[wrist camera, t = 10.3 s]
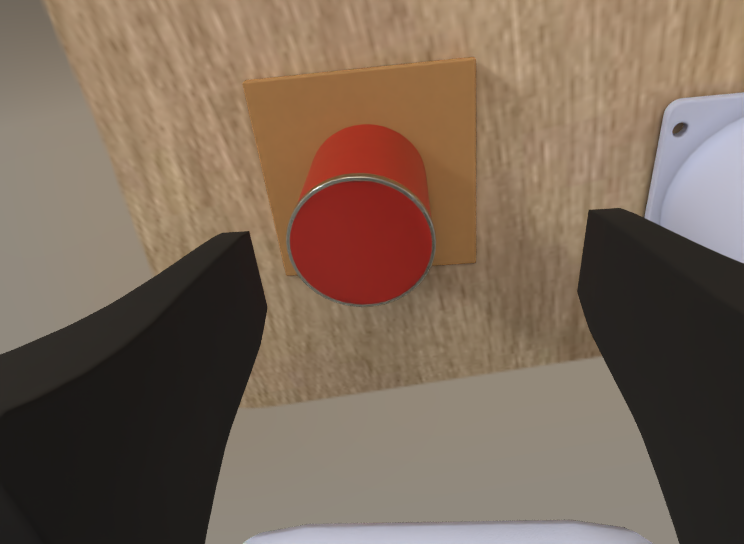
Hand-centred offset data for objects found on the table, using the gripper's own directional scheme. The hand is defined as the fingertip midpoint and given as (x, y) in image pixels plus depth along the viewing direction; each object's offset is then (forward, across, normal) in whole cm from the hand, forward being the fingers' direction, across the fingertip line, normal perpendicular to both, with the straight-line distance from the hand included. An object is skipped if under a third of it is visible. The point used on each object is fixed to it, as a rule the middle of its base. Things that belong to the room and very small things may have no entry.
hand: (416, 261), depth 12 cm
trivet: (+9, +2, +2) cm, 10 cm away
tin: (+9, +2, +2) cm, 9 cm away
